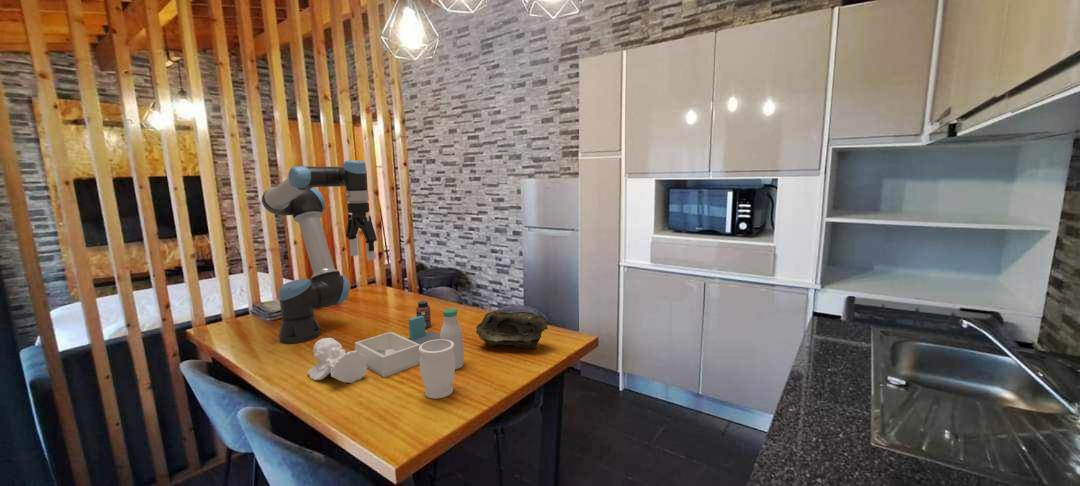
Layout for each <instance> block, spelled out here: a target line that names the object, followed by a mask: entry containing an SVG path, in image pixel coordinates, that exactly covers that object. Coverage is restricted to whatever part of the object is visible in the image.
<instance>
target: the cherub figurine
mask: <svg viewBox="0 0 1080 486" xmlns="http://www.w3.org/2000/svg"><path fill="white" fill-rule="evenodd" d="M312 351H313V352H312V353H313V356H314V358H315V359H316V360H317V361H318V362H317V363H316V365H313V366H312V367H310V368H309V369H308V370H307V375H308V376H309V378H310V379H312V380H313V381H321V380H324V379H325V378H326V377H328V376H329V375H330V377H332V378H335V380H338V381H339V382H343V383H350V384H352V383H354V382H356V381H359V380H361V379H362V378H363V377H364V375H366V374H367V370H368V369H369V368H368V366H366V363H367V359H366V358H365V357H364V355H362V354H360V353H359V351H357V350H356V351H355V350H353V351H352V350H351V351H347V352H346V349H343V345H342V344H341V343H340V342H338V341H337V340H335V338H332V337H325V338H320V339H318V340H317V341H316V342H315V343H314V345H313V347H312Z"/></svg>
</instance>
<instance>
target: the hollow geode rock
mask: <svg viewBox="0 0 1080 486" xmlns="http://www.w3.org/2000/svg"><path fill="white" fill-rule="evenodd" d="M475 329H476V334H477V336H478V337H479V338H480V340H482V341H483V342H485V344H487V345H488V348H489V347H493V346H494V347H495V346H497V345H503V346H506V345H509V346H514V347H516V348H518V347H519V348H524V349H532V350H533V349H537V347H538V343H539V342H540V340H541V338H542V335H543V332H544V331H545V330H546V331H547V330H549V329H548V320H547V318H545V317H543V316H541V315H536V314H534V313H533V312H529V311H528V312H526V311H519V312H511V313H509V312H497V311H490V312H487V313H486V314H484V316H483V319H482V320H481V322H480V323H479V324H478V325H477V326H476V327H475Z"/></svg>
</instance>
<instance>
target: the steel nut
mask: <svg viewBox="0 0 1080 486" xmlns="http://www.w3.org/2000/svg"><path fill="white" fill-rule="evenodd" d="M374 351H376V352H378V353H380V354H382V355H384V356H385V355H386V352H385V351H384V350H378V349H376V350H374Z"/></svg>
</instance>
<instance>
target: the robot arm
mask: <svg viewBox="0 0 1080 486" xmlns="http://www.w3.org/2000/svg"><path fill="white" fill-rule="evenodd" d="M367 174H368V171H367V167H366V162H365V161H364V160H355V159H354V160H345V161H343V166H313V165H312V166H309V165H300V166H292V167H290V168H289V170H288V176H287V177H288V178H286V179H285V180H283V181H282V182H280V183H279V184H278V185H276V186H272V187H269V188H268V189H267V190H266V191H264V193H263V194H262V196H261V203H262V205H263V207H264V209H265V210H266V211H268V212H270V213H271V214H274V215H276V216H282V217H283V216H292V218H293V221H294V222H297V223H298V225H299V229H300V232H301V236H302V239H303V242H304V246H305V250H306V252H307V257H308V260H309V264H310V267H311V271H312V275H311V277H310V279H308V278H302V279H294V280H291V281H289V282H286V283H284V284H282V285H280V287H279V289H278V295H279V296H278V300H279V303H280V304H279V305H280V314H281V315H280V316H281V325H280V329H279V331H278V332H279V333H278V341H279V342H280V343H282V344H298V343H305V342H308V341H312V340H314V339H316V338H318V337H319V336H320V335H321V332H322V331H321V327H320V326H319V323H318V321H317V320H316V318H315V311H314V310H315V309H319V308H324V307H327V306H332V305H337V304H340V303H344V302H345V301H346V300H347V299H348V297H349V293H350V283H349V279H348V278H347V277H346V276H345V275H341V273H340V270H338V269H336V268H335V265H334V261H333V258H332V254H331V252H330V248H329V246H328V241H327V238H326V234H325V232H324V228H323V224H322V221H321V218H322V217H323V212H324V211H326V209H325V208H326V201H325V198H324V196H323V194H322V192H321V191H320V190H318V189H317V188H324V187H325V188H327V187H328V188H329V187H330V188H331V187H332V188H333V187H339V188H340V187H345V196H346V201H347V202H348V203H347V205H346V207H347V213H349V214H347V224H346V225H347V226H346V230H345V231H346V232H345V237H346V238H348V242H349V243H348V244H349V252H350V253H349V254H350V257H357V256H359V249H358V248H359V247H358V237H357V235H358V232H359V229H360V230H361V232H362V234H363V236H364V238H365V251H366V261H371V260H373V261H374V260H376V254H375V244H374V243H375V242H376V241H378V238H377V234H376V231H375V228H374V225H373V222H372V221H373V220H372V217H371V215H367V213H369V212H370V203H369V190H368V189H369V187H368V175H367Z"/></svg>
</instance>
